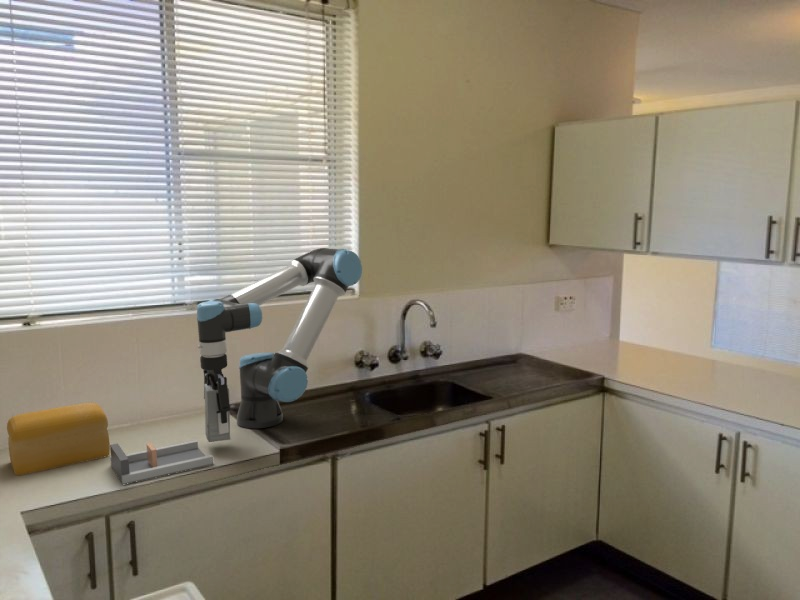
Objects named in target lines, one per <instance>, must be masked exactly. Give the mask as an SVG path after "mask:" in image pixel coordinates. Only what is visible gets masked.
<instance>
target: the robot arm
mask: <svg viewBox="0 0 800 600" xmlns="http://www.w3.org/2000/svg"><path fill="white" fill-rule="evenodd" d="M361 262H362V261H361V259H360V257H359V255H357V253H355V252H354V251H352V250H349V249H344V248H339V249H338V248H327V247H321V248H317V249H314V250H311V251H309V252H307V253H305V254H302V255H300V256H298V257H296V258H294V259H292V260H290V261H289V264H288V265H287V266H284V267H283V268H281V269H279V270H276V271H275V272H273V273H270V274H268V275H266V276H265V277H263V278H261V279H259V280H256V281H254V282H253V283H251V284H249V285H246V286H245V287H243V288H241V289H239V290H237V291H235V292H233V293H231V294H228V295H226V296H224V297H222V298H220V299H218V298H213V299H209V300H207V301H203V302H200V303H199V304H197V307H196V321H197V330H198V331H197V333H198V342H199V343H198V344H199V345H197V349H199V355H201V356H199V358H200V359H199V360H200V368H201V369H202V371H203V381H204V382H203V388H204V389H203V399H204V400H205V386H204V384H207V385H212V389H213V390H218V393H216V398H217V405H218V410H219V411H217V412H216V413H217V414H218V426H219V434H224V433H228V432H229V426H228V411H229V412H230V411H231V405H230V396H229V397H228V389H229V388H228V389H227V387H228V386H227V385H228V379H227V377H226V376H224V373H223V372H222V371H223V369H225V368H227V367H228V356H227V354H226V353H227V339H226V338H227V337H226V333H230V332H236V331H242V330H248V329H249V330H250V329H253V328H257V327H259V326H260V325H262V322H263V310H262V309H261V307H260V306H261V305H263V304H265V303H267V302H269V301H272V300H274V299H276V298H277V297H279V296H281V295H283V294H285V293H287V292H289V291H291V290H292V289H295V288H296V287H299V286H300V287H304V286H307V285H308V284H311V283H314V287H313V289H312V291H311V293H310V295H309V297H308V298H307V300H306V302H305V304H304V306H303V309H302V310H301V312H300V314H299V316H298V318H297V320H296V322H295V324H294V326H293V328H292V330H291V332H290V334H289V336H288V337H287V339H286V342H285V343H284V345H283V348H282V349H280V350H278V351H275V353H274V352H260V353H251V354H246V355H243V356H241V358H240V359H239V365H238V369H239V381H240V398H241V399H240V404H239V407H238V411H237V414H236V424H237V426H239V427H241V428H246V429H264V428H271V427H274V426H277V425H279V424H281V423H282V422H283V420H284V418H283V417H284V414H283V411H282V408H281V405H280V403H279V402H283V403H291V402H294V401H296V400H298V399H299V398H300V397H302V396H303V394H304V393H305V391H306V390H307V387H308V383H309V381H308V374H307V371H309V370H308V369H309V364H308V362H307V361H308V359H309V356H310V354H311V353H312V352H313V349H314V347H315V345H316V343H317V341H318V339H319V337H320V335H321V333H322V331H323V328H324V326H325V325H326V322H327V321H328V318H329V316H330V315H331V313H332V311H333V309H334V306H335V304H336V303H337V300H338V298H339V297H342V296H345V295H346V293H347V290H348V289H349V287H351V286H354V285H355V284H358V282H359V281H360V280H361V278H362V274H363V265H362V263H361ZM224 407H225V408H224Z"/></svg>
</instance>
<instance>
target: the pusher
mask: <svg viewBox="0 0 800 600" xmlns="http://www.w3.org/2000/svg"><path fill="white" fill-rule="evenodd" d="M146 450H147V459H148V462H149V463H150V465H151V466H152V467H157V452H156V449H155V446H154V445H153V444H152V442H150V443H147V444H146Z"/></svg>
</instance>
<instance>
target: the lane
mask: <svg viewBox="0 0 800 600" xmlns="http://www.w3.org/2000/svg"><path fill="white" fill-rule="evenodd" d="M155 449H156V452H157V467H152V466H151V465H150V463H149V462H148V459H147V449H146V450H141V451H136V452H130V453H127V454H126V453H125V452H124V450H123V449H122V447H121V446H120V444H119V443H118V442H117V443H112V444H110V467H111V468H112V470H113V472H114V473H115V474H117V475H116V476H117V478H118V477H119V478H118V479H120V480H119V481H120V483H121V482H122V483H121V485H123V484H127V483H131V482H135V483H137V482H136V481H140V482H143V481H142V480H144V481H147V480H146V479H149V480H151V479H150V478H153V479H156V478H155V477H157V478H160V476H162V477H165V476H164V475H166V476H169V475H168V474H171V475H174V474H173V473H175V474H177V473H176V472H179V473H182V472H181V471H184V472H186V471H185V470H188V471H191V470H190V469H193V470H196V468H197V469H201V468H205V467H204V466H206V467H209V465H210V466H214V465H215V464H214V456H213V455H212V454H209V455H206V454H204V452H203V451H202V450H201V449H200V448H199V444H198V440H196V439H195V440H190V441H185V442H181V443H175V444H171V445H170V444H169V445H165V446H161V447H156V448H155ZM200 467H201V468H200ZM131 484H132V483H131ZM127 485H128V484H127Z"/></svg>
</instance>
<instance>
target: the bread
mask: <svg viewBox="0 0 800 600" xmlns="http://www.w3.org/2000/svg"><path fill="white" fill-rule="evenodd" d="M108 425H109V422H108V417H107V415H106V413H105V411H104V410H103V408H102V406H100V405H99V404H98V403H95V402H84V403H79V404H73V405H65V406H60V407H53V408H48V409H43V410H42V409H41V410H37V411H30V412H26V413H24V412H23V413H20V414H16V415H14V416H13V415H12V417H10V418H9V419H8V421H7V423H6V430H7V435H8V437H7V439H8V444H7V445H8V455H9V459H10V460H9V461H10V464H11V466H12V469H13V471H14V474H15V475H16V476H23V475H28V474H32V473H38V472H41V471H45V470H46V471H47V470H50V469H55V468H60V467H64V466H69V465H73V464H79V463H83V461H84V462H86V461H87V460H88V461H92V459H93V460H97V459H96V458H98V459H101V457H102V458H105V457H104V456H106V457H109V456H110V453H111V451H110V445H111V444H110V436H109V435H110V434H109V431H108ZM108 455H109V456H108Z"/></svg>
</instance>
